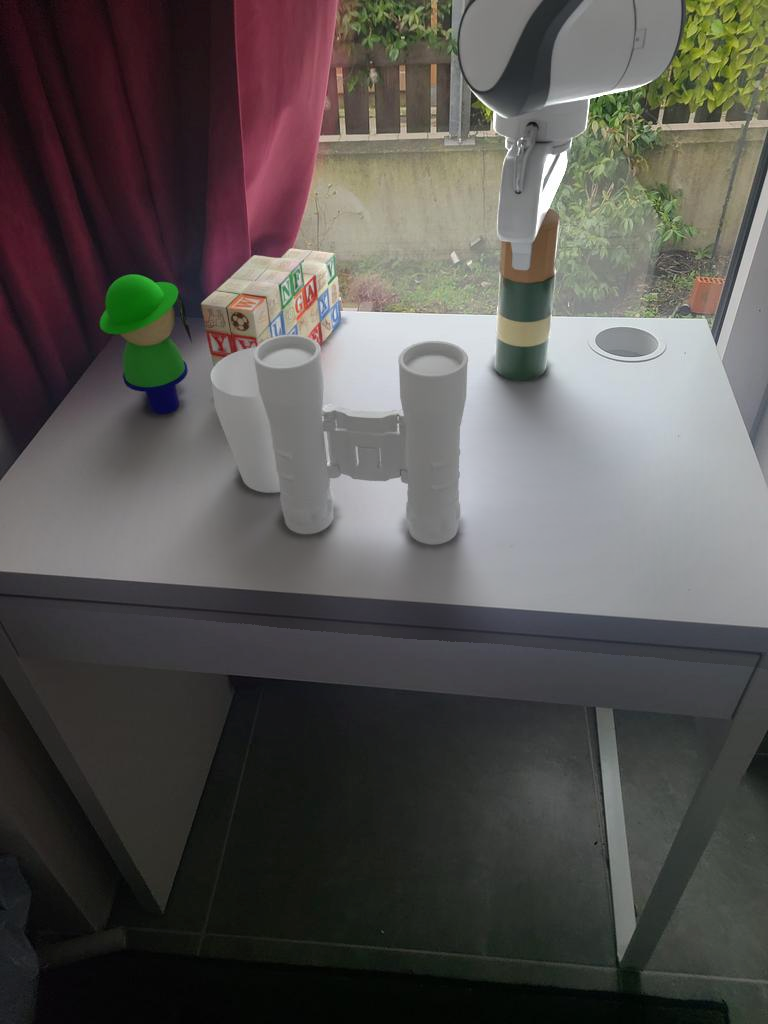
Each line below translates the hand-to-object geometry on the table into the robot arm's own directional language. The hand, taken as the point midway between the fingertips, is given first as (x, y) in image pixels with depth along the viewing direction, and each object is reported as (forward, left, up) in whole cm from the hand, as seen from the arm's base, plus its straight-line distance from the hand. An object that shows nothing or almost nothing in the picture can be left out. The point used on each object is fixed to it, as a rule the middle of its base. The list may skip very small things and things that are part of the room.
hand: (529, 249), depth 86 cm
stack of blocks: (+28, +5, -15) cm, 32 cm away
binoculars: (+8, +31, -15) cm, 35 cm away
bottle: (0, 0, -14) cm, 14 cm away
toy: (+38, +17, -15) cm, 44 cm away
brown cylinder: (0, 0, -2) cm, 2 cm away
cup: (+20, +26, -15) cm, 36 cm away
